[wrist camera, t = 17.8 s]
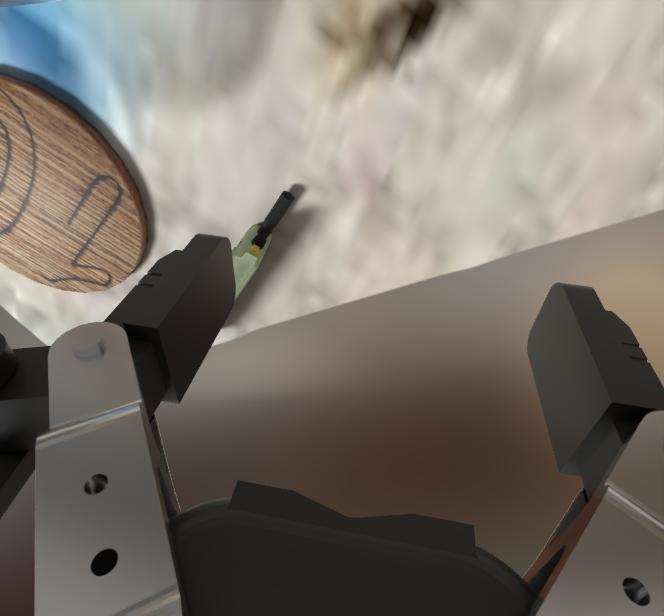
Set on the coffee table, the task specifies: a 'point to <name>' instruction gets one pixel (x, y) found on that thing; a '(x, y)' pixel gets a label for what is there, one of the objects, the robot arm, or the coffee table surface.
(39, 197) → the trivet
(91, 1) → the coffee table surface
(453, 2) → the coffee table surface
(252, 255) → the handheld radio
